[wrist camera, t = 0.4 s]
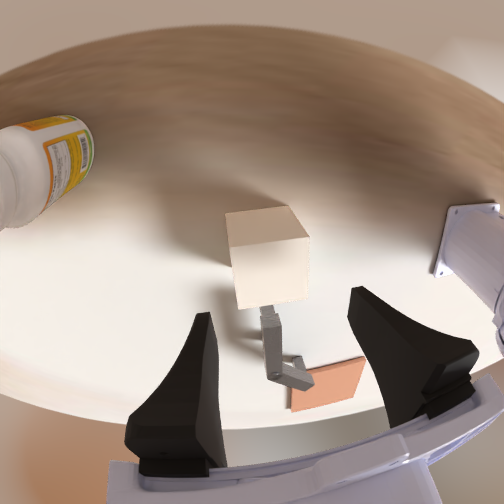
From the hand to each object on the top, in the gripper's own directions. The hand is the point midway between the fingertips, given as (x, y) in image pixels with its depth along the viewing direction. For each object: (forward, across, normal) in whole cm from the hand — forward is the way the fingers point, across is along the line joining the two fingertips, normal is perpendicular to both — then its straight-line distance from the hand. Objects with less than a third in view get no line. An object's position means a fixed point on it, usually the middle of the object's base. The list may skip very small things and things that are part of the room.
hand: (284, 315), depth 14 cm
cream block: (+8, 0, 0) cm, 9 cm away
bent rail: (+8, -2, +11) cm, 14 cm away
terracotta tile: (+8, -7, +22) cm, 25 cm away
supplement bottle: (+9, +13, -9) cm, 18 cm away
